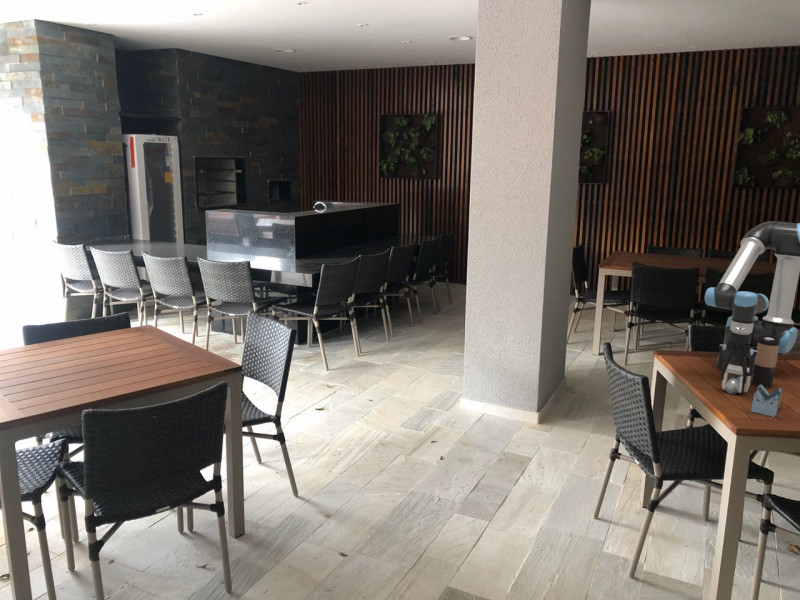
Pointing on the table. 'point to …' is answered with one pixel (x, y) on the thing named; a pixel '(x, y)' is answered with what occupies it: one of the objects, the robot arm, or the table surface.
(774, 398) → the v block
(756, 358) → the travel mug
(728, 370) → the u shaped block
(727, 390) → the axle
